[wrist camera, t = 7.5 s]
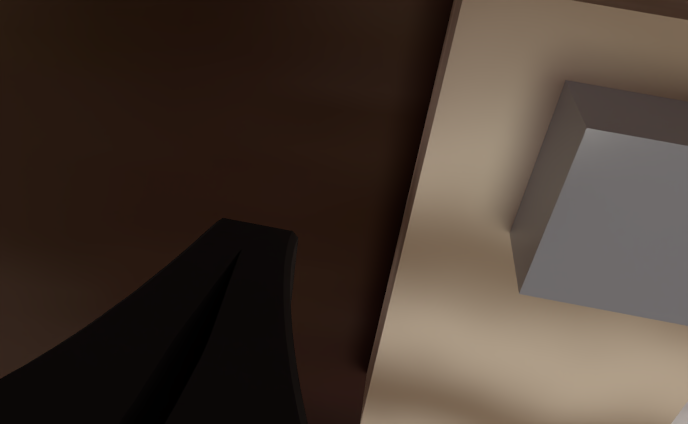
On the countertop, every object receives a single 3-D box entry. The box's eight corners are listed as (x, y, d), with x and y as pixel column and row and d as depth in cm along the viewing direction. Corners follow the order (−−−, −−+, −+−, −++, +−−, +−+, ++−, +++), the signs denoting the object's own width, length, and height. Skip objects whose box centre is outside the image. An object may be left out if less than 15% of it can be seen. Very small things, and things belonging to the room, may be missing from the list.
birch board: (613, 422, 24) (629, 480, 22) (366, 374, 24) (359, 426, 22) (867, 26, 15) (936, 63, 13) (463, -43, 15) (466, -18, 13)
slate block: (673, 263, 16) (706, 329, 14) (509, 232, 16) (519, 293, 14) (760, 114, 14) (817, 168, 12) (565, 80, 14) (586, 127, 12)
